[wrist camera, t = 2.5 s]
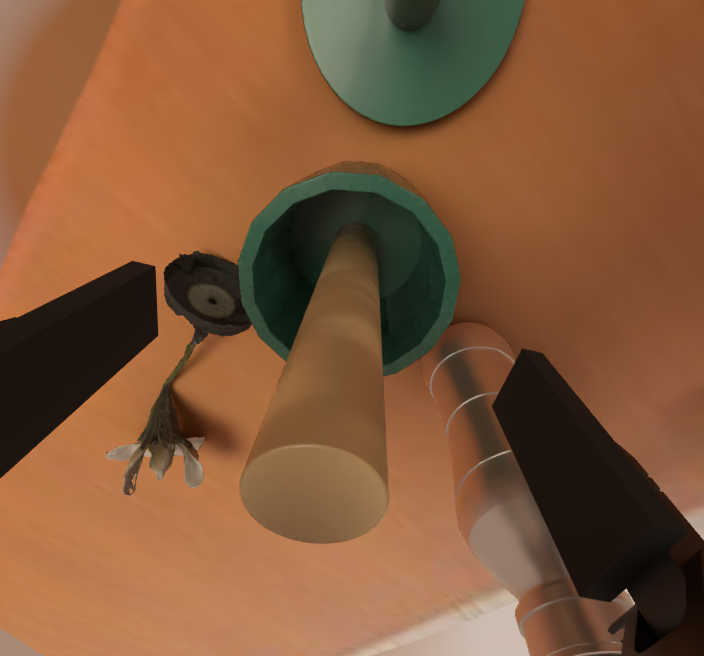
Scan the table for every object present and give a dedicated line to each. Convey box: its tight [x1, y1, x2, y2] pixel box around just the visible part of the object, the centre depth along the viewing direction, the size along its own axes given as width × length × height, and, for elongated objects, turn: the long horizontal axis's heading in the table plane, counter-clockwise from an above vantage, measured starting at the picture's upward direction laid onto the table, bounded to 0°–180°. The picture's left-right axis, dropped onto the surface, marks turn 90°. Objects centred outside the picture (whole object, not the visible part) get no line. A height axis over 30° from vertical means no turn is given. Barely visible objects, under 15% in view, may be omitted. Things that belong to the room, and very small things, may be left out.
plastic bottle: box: [421, 322, 634, 656], centre depth 20 cm, size 6×7×20 cm
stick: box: [240, 222, 389, 544], centre depth 16 cm, size 3×3×20 cm
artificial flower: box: [105, 251, 252, 496], centre depth 28 cm, size 9×22×10 cm, turn 147°
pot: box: [238, 161, 461, 376], centre depth 21 cm, size 10×10×10 cm
